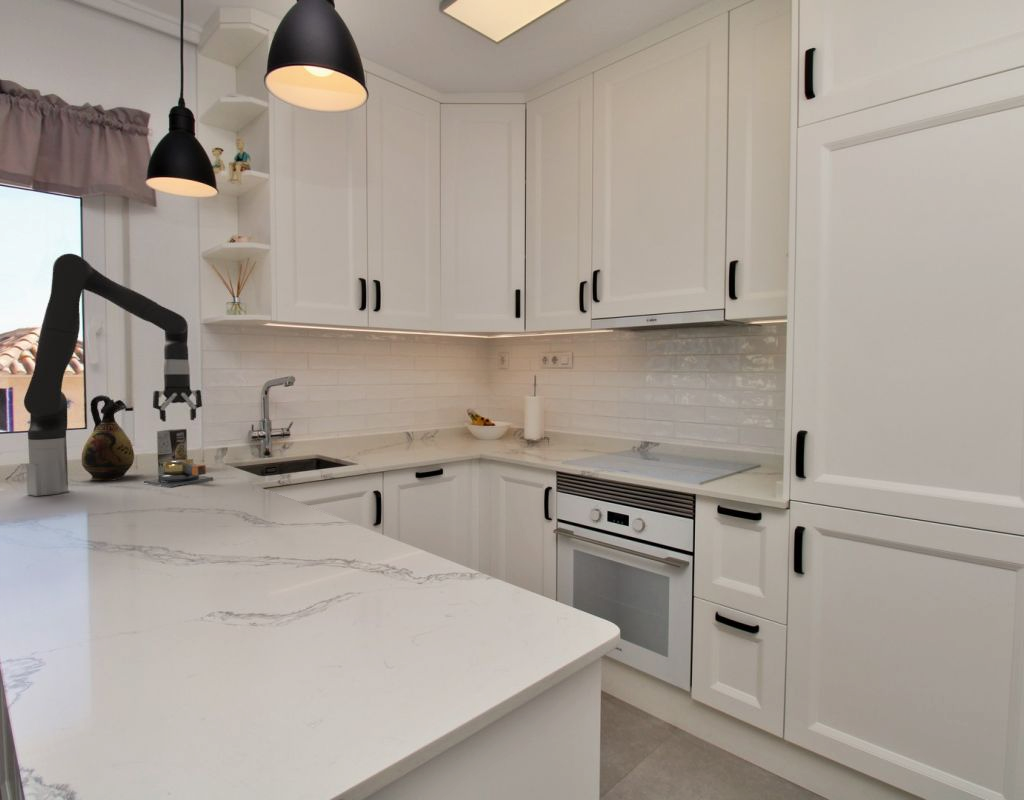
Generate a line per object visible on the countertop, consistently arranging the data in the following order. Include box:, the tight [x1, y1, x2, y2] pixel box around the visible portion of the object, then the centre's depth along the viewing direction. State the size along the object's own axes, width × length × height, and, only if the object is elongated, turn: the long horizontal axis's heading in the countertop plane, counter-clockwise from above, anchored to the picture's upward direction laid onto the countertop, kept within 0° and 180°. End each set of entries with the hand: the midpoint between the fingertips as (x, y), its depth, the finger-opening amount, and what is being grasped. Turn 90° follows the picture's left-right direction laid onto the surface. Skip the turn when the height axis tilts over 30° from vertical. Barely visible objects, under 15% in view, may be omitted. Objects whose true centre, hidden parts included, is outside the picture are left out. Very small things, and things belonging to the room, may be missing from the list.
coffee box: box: [156, 428, 188, 474], centre depth 216 cm, size 9×6×16 cm
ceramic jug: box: [81, 394, 135, 482], centre depth 201 cm, size 17×15×30 cm
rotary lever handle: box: [163, 458, 207, 476], centre depth 192 cm, size 18×9×4 cm, turn 61°
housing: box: [143, 460, 214, 488], centre depth 194 cm, size 15×15×7 cm
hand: (178, 420), depth 192 cm, fingers open, 8 cm apart
